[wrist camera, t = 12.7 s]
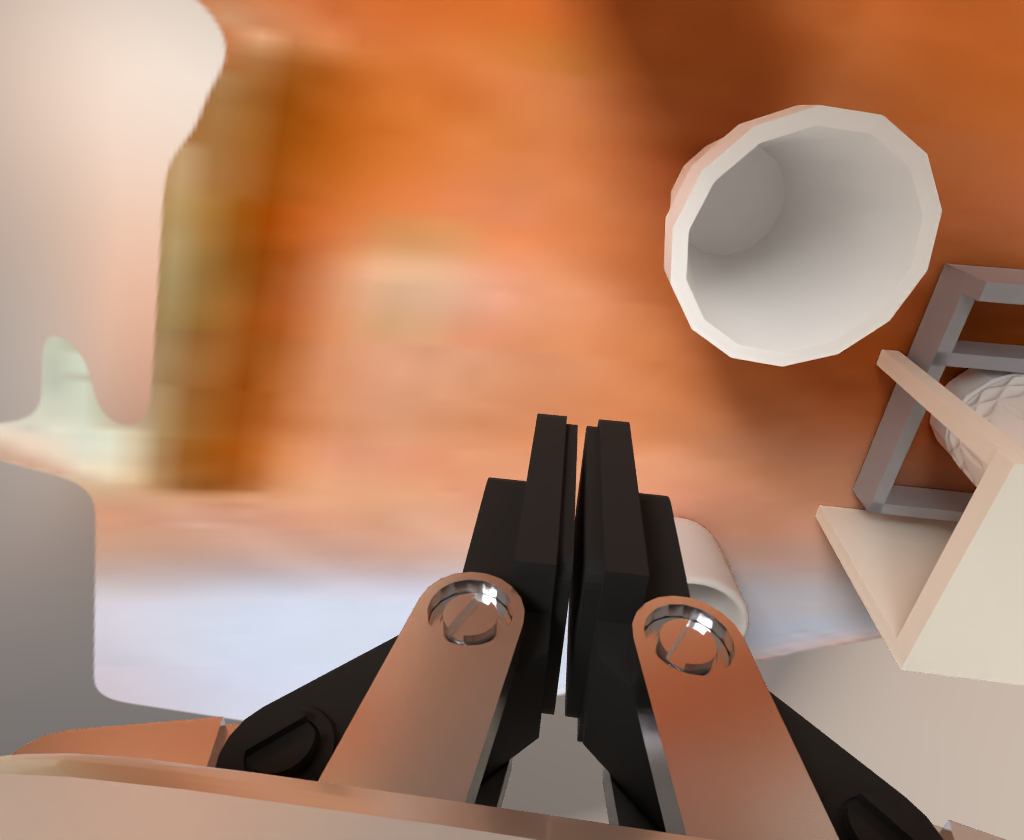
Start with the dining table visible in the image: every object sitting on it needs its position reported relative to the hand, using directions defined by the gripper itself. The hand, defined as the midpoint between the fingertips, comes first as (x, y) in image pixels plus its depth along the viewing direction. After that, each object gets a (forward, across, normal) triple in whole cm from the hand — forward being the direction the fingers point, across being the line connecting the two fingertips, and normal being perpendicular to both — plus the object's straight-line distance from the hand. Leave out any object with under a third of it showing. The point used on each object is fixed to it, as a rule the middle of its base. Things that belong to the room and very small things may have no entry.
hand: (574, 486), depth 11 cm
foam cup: (+27, -8, -2) cm, 28 cm away
